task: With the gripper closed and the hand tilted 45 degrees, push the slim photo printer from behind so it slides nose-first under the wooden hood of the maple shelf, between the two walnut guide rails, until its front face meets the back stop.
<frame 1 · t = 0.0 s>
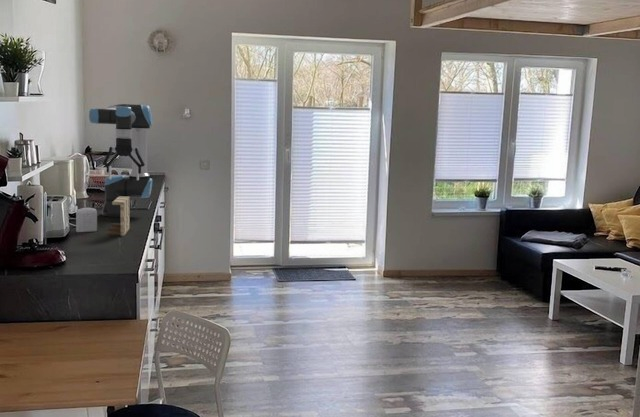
hand: (124, 179, 316), 28 cm above the table, tool pointing down, fingers open, 13 cm apart
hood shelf: (112, 231, 323), on the table
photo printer: (86, 231, 321), on the table
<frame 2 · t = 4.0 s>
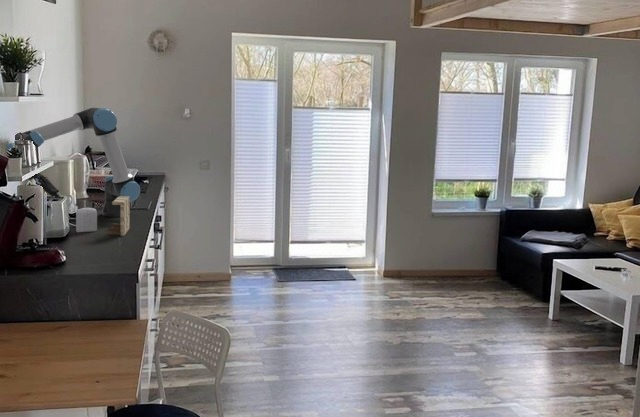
hand: (65, 203, 317), 14 cm above the table, tool tilted 45°, fingers closed
nothing on the table moved.
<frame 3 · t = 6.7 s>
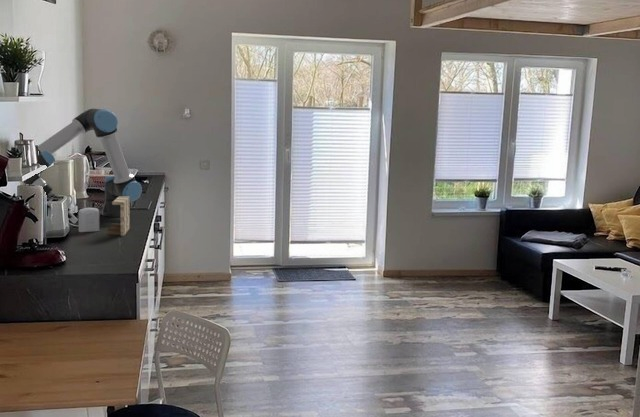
hand: (76, 221, 319), 5 cm above the table, tool tilted 45°, fingers closed
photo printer: (89, 231, 321), on the table, touching gripper
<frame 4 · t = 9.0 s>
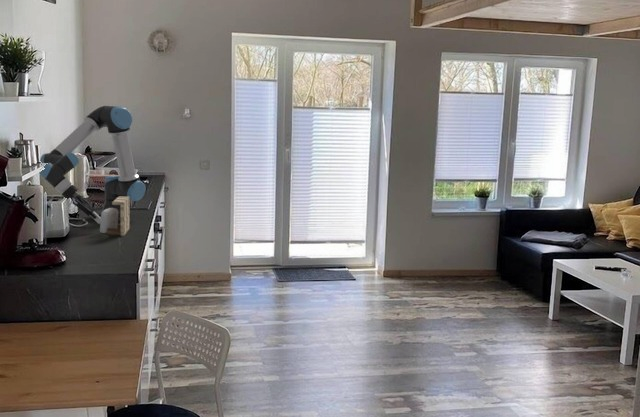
hand: (101, 222, 321), 5 cm above the table, tool tilted 45°, fingers closed
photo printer: (108, 231, 323), on the table
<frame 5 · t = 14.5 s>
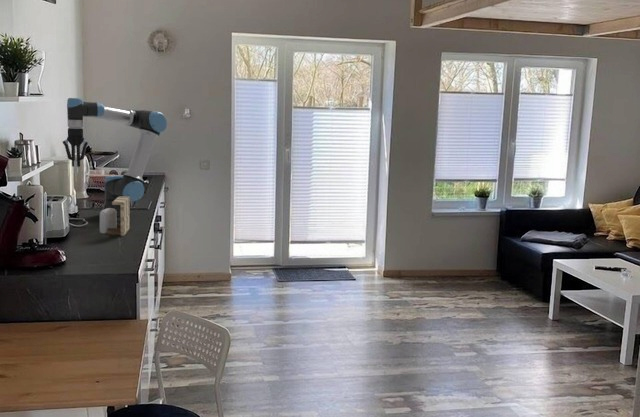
hand: (76, 172, 329), 28 cm above the table, tool pointing down, fingers closed
at the end: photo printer 1.7 cm off-centre on the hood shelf, point 0.0 cm above the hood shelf's base; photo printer tilted 0°; the gripper is holding nothing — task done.
